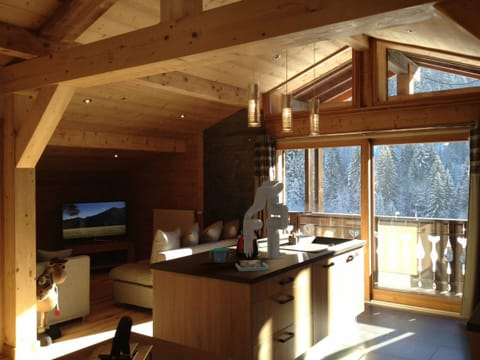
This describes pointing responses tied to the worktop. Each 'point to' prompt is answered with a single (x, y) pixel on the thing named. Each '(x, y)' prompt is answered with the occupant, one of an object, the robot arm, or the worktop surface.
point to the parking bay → (253, 268)
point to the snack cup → (220, 254)
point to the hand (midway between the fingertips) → (248, 263)
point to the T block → (250, 263)
